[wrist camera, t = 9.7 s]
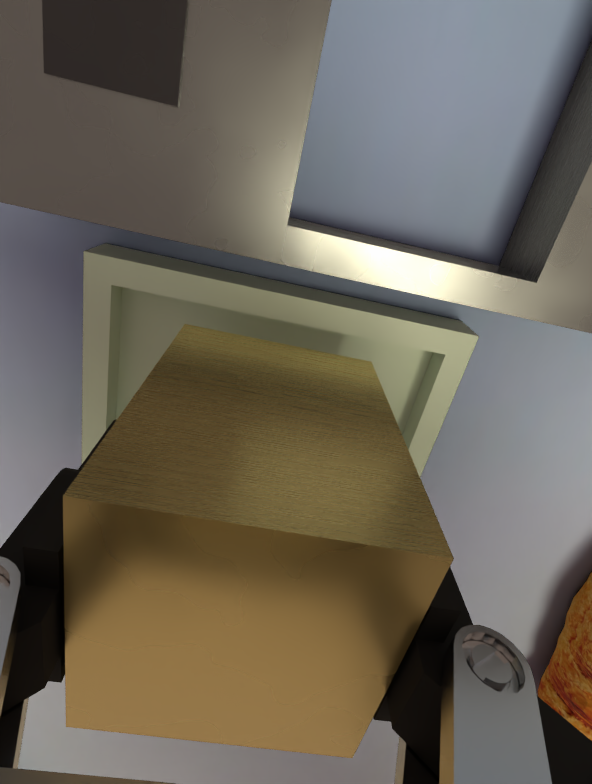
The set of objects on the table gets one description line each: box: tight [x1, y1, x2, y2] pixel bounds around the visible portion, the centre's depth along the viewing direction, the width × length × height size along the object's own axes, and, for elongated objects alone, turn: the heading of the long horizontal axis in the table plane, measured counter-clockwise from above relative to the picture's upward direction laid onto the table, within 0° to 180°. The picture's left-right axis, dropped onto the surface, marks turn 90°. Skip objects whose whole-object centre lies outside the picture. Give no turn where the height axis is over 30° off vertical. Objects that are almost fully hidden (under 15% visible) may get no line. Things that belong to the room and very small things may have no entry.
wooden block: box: [63, 324, 454, 758], centre depth 11 cm, size 6×6×8 cm
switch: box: [0, 0, 592, 333], centre depth 12 cm, size 22×9×3 cm, turn 78°
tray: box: [82, 243, 479, 477], centre depth 16 cm, size 12×8×2 cm, turn 78°
